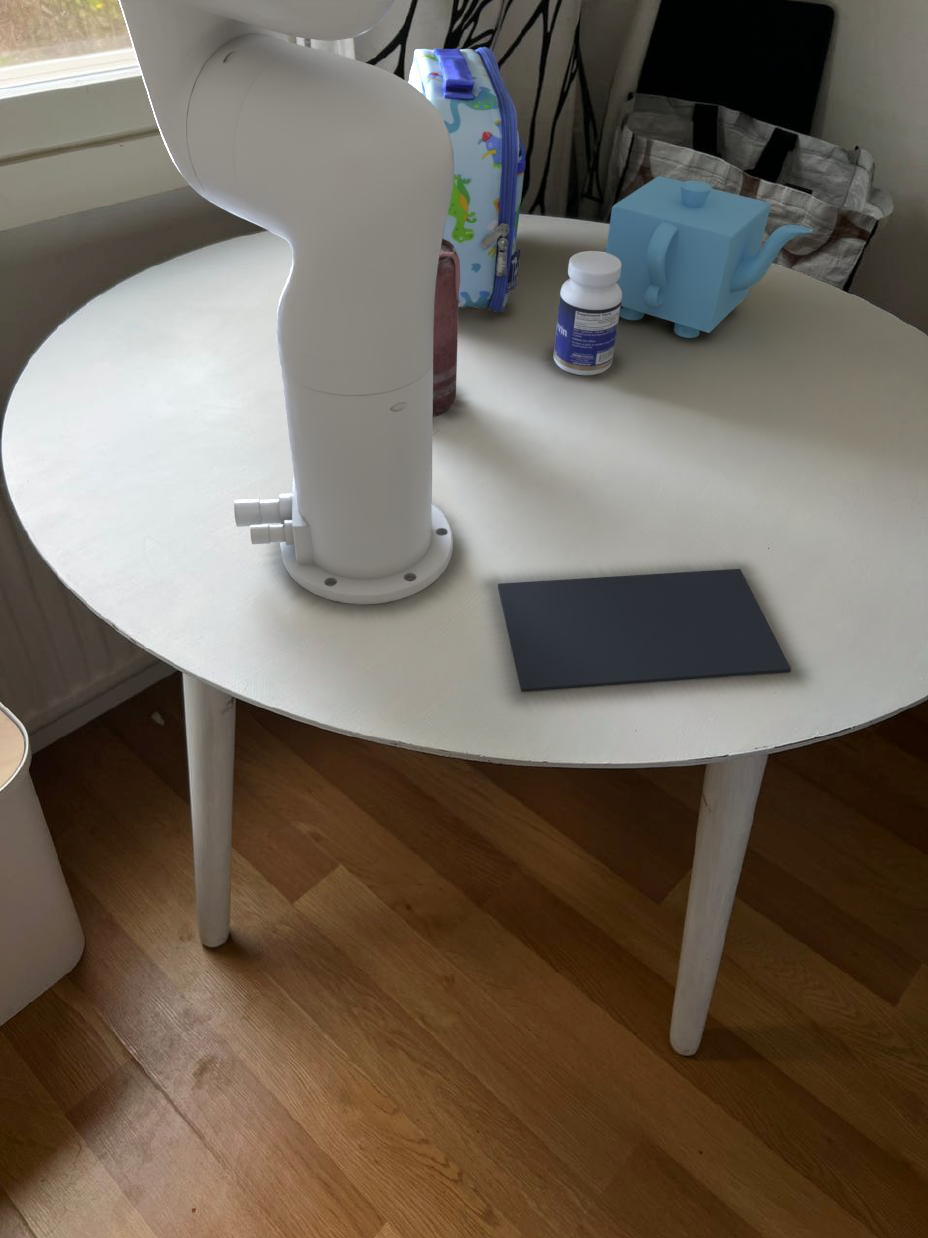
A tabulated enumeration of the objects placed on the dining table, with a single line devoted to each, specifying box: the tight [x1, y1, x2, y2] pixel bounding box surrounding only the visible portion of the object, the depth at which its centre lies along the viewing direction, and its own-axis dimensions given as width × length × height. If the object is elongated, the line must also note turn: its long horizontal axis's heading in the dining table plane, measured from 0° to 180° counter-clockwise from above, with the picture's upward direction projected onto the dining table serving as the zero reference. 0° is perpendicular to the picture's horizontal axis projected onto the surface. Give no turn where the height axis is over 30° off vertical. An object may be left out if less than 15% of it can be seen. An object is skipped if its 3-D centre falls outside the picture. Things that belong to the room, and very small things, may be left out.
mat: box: [497, 568, 792, 693], centre depth 63 cm, size 18×10×1 cm, turn 97°
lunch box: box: [408, 46, 527, 313], centre depth 94 cm, size 26×11×21 cm, turn 6°
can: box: [433, 238, 460, 418], centre depth 78 cm, size 6×6×14 cm
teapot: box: [605, 175, 814, 339], centre depth 91 cm, size 18×16×13 cm
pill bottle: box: [553, 250, 622, 376], centre depth 85 cm, size 6×6×10 cm
